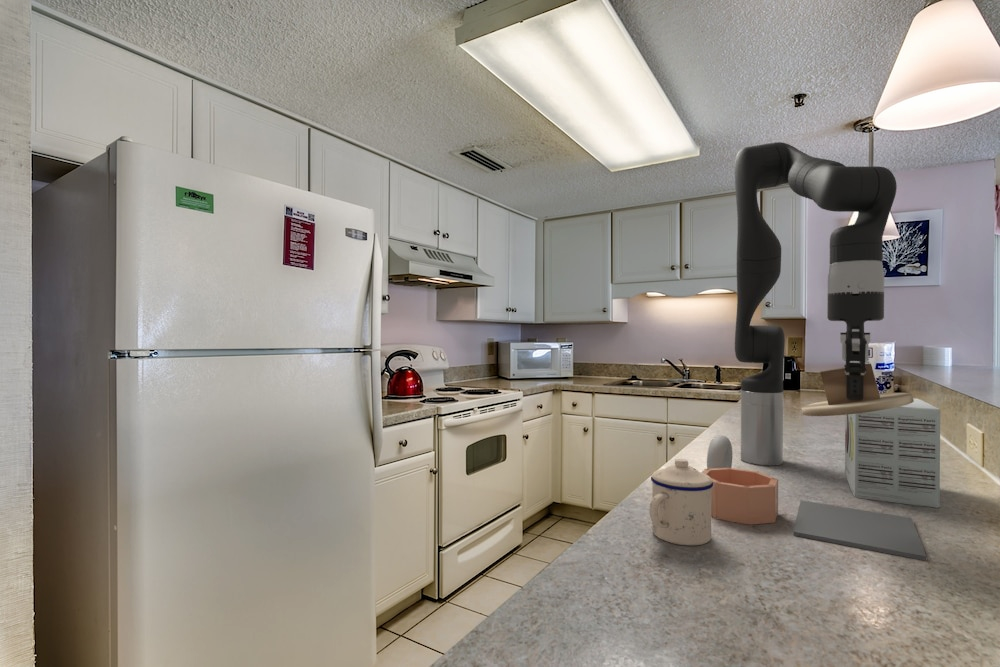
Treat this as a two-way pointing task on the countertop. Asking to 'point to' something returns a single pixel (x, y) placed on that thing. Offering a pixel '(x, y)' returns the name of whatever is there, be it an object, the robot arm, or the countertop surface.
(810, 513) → the mat
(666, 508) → the teacup with lid
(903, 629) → the countertop surface
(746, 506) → the bowl
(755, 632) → the countertop surface
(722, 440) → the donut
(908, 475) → the supplement box
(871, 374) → the lid
